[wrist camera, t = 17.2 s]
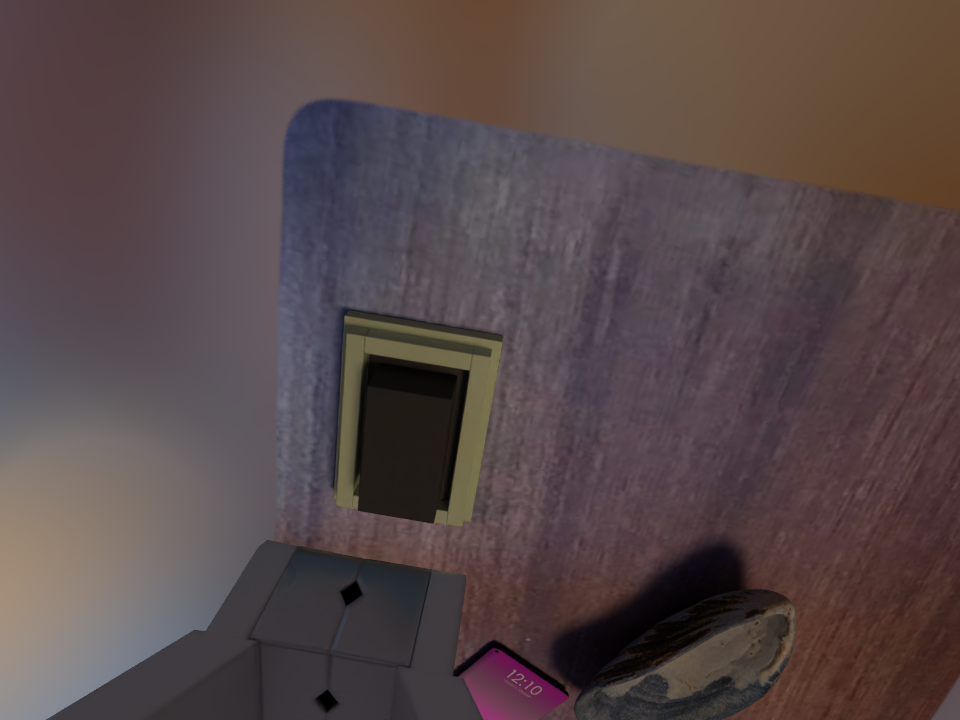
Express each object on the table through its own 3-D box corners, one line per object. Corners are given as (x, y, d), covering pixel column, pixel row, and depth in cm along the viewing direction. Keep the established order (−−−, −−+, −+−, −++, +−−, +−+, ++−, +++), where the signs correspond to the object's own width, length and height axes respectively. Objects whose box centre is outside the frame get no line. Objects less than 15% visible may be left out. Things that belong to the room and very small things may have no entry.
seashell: (590, 532, 37) (599, 590, 33) (788, 550, 37) (826, 612, 32) (564, 695, 43) (568, 764, 39) (734, 713, 43) (759, 785, 38)
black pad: (380, 362, 32) (367, 385, 29) (458, 375, 32) (451, 400, 29) (370, 480, 35) (357, 511, 33) (440, 492, 35) (433, 524, 33)
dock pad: (349, 309, 32) (337, 322, 30) (503, 335, 32) (502, 350, 30) (338, 489, 37) (327, 511, 35) (471, 512, 37) (468, 535, 35)
